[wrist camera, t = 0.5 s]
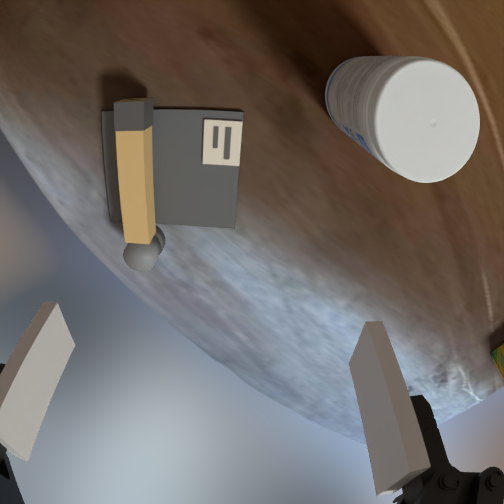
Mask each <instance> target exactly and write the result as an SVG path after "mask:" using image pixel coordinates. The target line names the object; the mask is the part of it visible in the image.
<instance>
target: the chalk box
mask: <svg viewBox="0 0 504 504" xmlns="http://www.w3.org/2000/svg"><path fill="white" fill-rule="evenodd" d="M491 356H492V359H493V362H494V364H495V367H496V369H497V371H498V373H499V375H500V377H501V379H502V381H503V383H504V343H503V344H502V345H501V346H499V347H498V348H497V349H495V350H494V351H492V352H491Z"/></svg>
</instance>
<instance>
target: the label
mask: <svg viewBox="0 0 504 504" xmlns="http://www.w3.org/2000/svg"><path fill="white" fill-rule="evenodd" d="M242 124H243V121H229V120H210V119H205V120H204V141H203V164H214V165H230V166H239V162H240V148H241V136H242Z"/></svg>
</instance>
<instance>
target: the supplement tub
mask: <svg viewBox="0 0 504 504" xmlns="http://www.w3.org/2000/svg"><path fill="white" fill-rule="evenodd" d="M325 101H326V106H327V110H328V113H329V115H330V117H331V119H332V120H333V122H334V123H335V124H336V125H337V126H338V127H339V128H340V129H341V130H342V131H343V132H344V133H346V134H347V135H348V136H349V137H351V138H352V139H353V140H354V141H356V142H357V143H358V144H360V145H361V146H362V147H363V148H365V149H366V150H367V151H368V152H370V153H371V154H372V155H373V156H374V157H376V158H377V159H378V160H379V161H381V162H382V163H383V164H384V165H386V166H387V167H388V168H390V169H391V170H393V171H394V172H396V173H398V174H400V175H402V176H403V177H405V178H407V179H410V180H413V181H416V182H423V183H431V182H437V181H441V180H443V179H446V178H448V177H450V176H451V175H453V174H455V173H456V172H457V171H458V170H460V169H461V168H462V167H463V166H464V164H465V163H466V162H467V160H468V159H469V158H470V156H471V154H472V152H473V150H474V148H475V145H476V142H477V139H478V134H479V127H480V117H479V109H478V105H477V101H476V98H475V95H474V93H473V91H472V89H471V87H470V86H469V84H468V83H467V81H466V80H465V79H464V78H463V76H462V75H461V74H460V73H459V72H457V71H456V70H455V69H454V68H452V67H450V66H449V65H447V64H445V63H443V62H440V61H437V60H433V59H429V58H425V57H416V56H362V57H355V58H352V59H349V60H346V61H345V62H343V63H342V64H340V65H339V66H338V67H337V68H336V69H335V70H334V71H333V72H332V74H331V75H330V77H329V79H328V82H327V85H326V90H325Z"/></svg>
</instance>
